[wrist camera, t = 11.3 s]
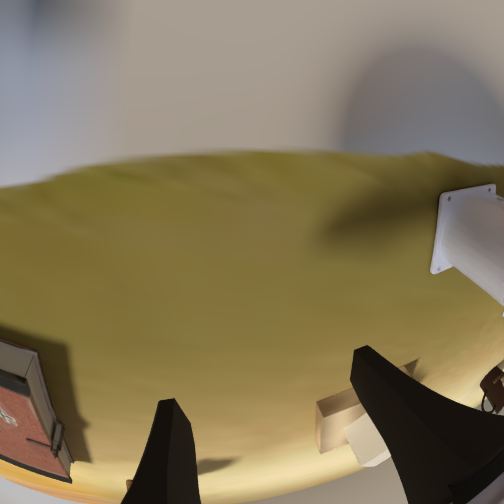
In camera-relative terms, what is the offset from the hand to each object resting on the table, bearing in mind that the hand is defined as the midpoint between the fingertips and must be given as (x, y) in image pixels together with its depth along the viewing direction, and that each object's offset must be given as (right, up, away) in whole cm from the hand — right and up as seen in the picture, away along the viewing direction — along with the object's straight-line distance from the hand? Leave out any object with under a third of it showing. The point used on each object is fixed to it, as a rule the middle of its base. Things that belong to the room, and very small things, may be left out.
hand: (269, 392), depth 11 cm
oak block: (+13, -15, +23) cm, 31 cm away
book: (-31, -13, +12) cm, 35 cm away
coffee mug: (+55, -24, +38) cm, 71 cm away
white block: (+14, -16, +21) cm, 30 cm away
